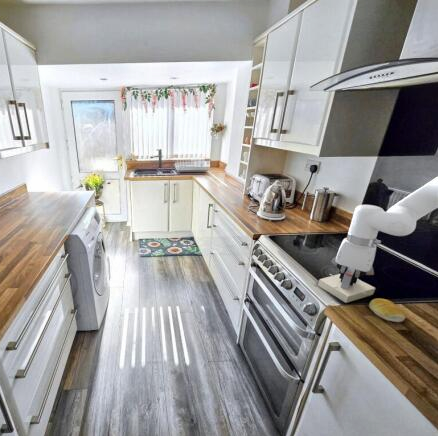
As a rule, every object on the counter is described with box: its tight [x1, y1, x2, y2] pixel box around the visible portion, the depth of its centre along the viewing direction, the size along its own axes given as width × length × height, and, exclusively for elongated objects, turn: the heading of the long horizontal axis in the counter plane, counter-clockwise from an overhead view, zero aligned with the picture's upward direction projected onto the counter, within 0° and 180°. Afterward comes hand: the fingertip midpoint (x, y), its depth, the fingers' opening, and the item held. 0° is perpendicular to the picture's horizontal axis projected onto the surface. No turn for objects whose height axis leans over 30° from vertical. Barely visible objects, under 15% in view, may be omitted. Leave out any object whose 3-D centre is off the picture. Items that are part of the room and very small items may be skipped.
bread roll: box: [368, 298, 407, 323], centre depth 81 cm, size 8×9×4 cm
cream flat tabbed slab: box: [317, 273, 376, 304], centre depth 93 cm, size 14×13×3 cm
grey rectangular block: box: [341, 267, 356, 290], centre depth 91 cm, size 9×2×6 cm, turn 132°
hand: (347, 282), depth 92 cm, fingers closed on grey rectangular block, 2 cm apart
